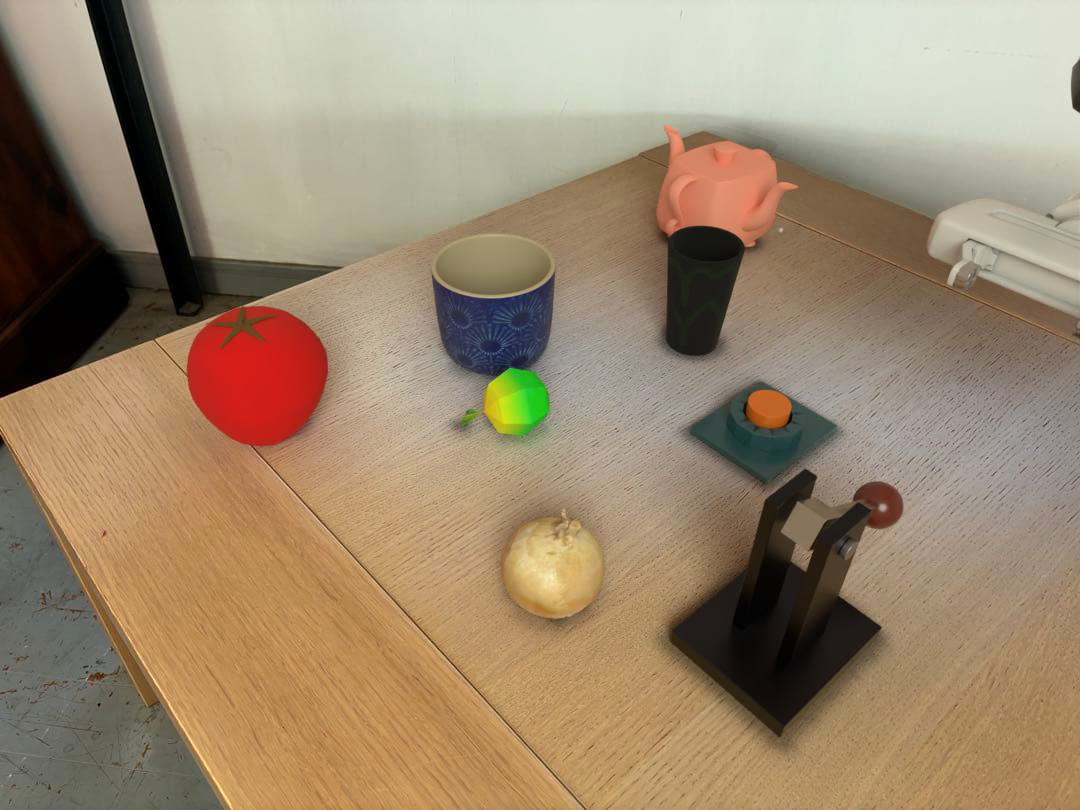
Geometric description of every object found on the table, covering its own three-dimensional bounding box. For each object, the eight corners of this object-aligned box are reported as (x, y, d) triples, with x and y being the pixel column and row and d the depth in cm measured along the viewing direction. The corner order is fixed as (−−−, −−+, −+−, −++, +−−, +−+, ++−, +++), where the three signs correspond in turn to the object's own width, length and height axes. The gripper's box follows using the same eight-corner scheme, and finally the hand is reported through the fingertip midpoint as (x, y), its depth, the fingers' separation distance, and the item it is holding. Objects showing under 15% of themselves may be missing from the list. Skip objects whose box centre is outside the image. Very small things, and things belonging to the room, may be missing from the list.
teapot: (654, 207, 115) (664, 117, 107) (776, 219, 112) (796, 128, 104) (643, 261, 104) (653, 165, 96) (778, 276, 101) (800, 179, 93)
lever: (854, 509, 65) (876, 470, 64) (895, 535, 63) (919, 496, 62) (766, 533, 54) (792, 487, 53) (813, 566, 52) (840, 519, 51)
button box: (760, 386, 85) (764, 366, 83) (835, 430, 80) (842, 411, 78) (689, 433, 79) (692, 413, 78) (765, 484, 74) (770, 464, 73)
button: (762, 396, 80) (765, 384, 79) (797, 417, 78) (800, 404, 77) (736, 414, 78) (739, 401, 77) (771, 435, 76) (774, 423, 75)
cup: (736, 358, 88) (756, 259, 81) (667, 365, 87) (681, 266, 80) (713, 318, 94) (729, 222, 86) (648, 323, 93) (659, 227, 86)
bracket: (768, 558, 68) (807, 423, 58) (877, 638, 62) (940, 503, 52) (669, 641, 62) (694, 506, 52) (779, 738, 56) (831, 606, 46)
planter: (461, 400, 83) (455, 308, 76) (423, 333, 91) (414, 246, 84) (573, 369, 87) (576, 280, 80) (526, 308, 95) (525, 223, 88)
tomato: (204, 478, 74) (164, 366, 66) (208, 397, 83) (173, 290, 75) (343, 453, 77) (321, 343, 69) (333, 377, 85) (312, 272, 77)
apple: (548, 352, 77) (458, 379, 73) (571, 417, 76) (481, 446, 73) (525, 371, 83) (441, 395, 80) (546, 430, 83) (463, 457, 79)
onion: (595, 640, 62) (601, 581, 57) (491, 624, 63) (488, 565, 58) (607, 557, 68) (613, 498, 63) (512, 544, 69) (511, 484, 64)
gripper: (987, 167, 72) (902, 216, 65) (1260, 259, 60) (1192, 330, 53) (963, 232, 76) (880, 285, 69) (1214, 330, 64) (1144, 406, 57)
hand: (1018, 306), depth 61 cm, fingers open, 8 cm apart
